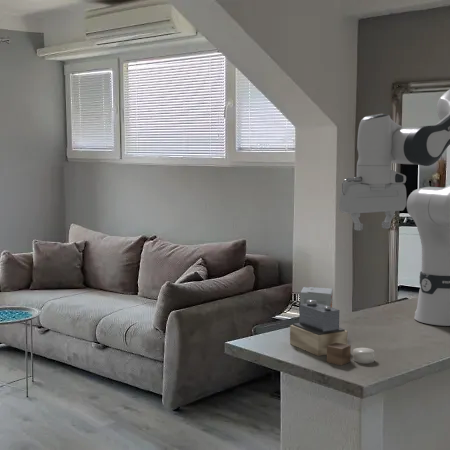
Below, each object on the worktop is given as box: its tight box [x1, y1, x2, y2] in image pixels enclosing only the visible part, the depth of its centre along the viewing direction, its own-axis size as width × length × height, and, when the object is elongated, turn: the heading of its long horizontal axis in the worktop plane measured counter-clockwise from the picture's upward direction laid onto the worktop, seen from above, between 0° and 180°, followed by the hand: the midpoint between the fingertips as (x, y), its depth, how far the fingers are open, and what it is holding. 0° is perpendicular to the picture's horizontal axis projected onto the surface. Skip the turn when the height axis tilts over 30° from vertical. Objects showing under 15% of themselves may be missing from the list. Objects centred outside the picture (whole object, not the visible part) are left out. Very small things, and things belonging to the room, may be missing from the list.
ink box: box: [299, 286, 334, 308], centre depth 192 cm, size 9×9×12 cm
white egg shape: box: [352, 347, 375, 365], centre depth 166 cm, size 5×5×2 cm
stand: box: [289, 322, 348, 357], centre depth 176 cm, size 9×12×5 cm
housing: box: [298, 300, 340, 332], centre depth 176 cm, size 10×5×6 cm, turn 29°
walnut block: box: [326, 343, 351, 366], centre depth 165 cm, size 4×4×4 cm
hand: (372, 229), depth 183 cm, fingers open, 8 cm apart
